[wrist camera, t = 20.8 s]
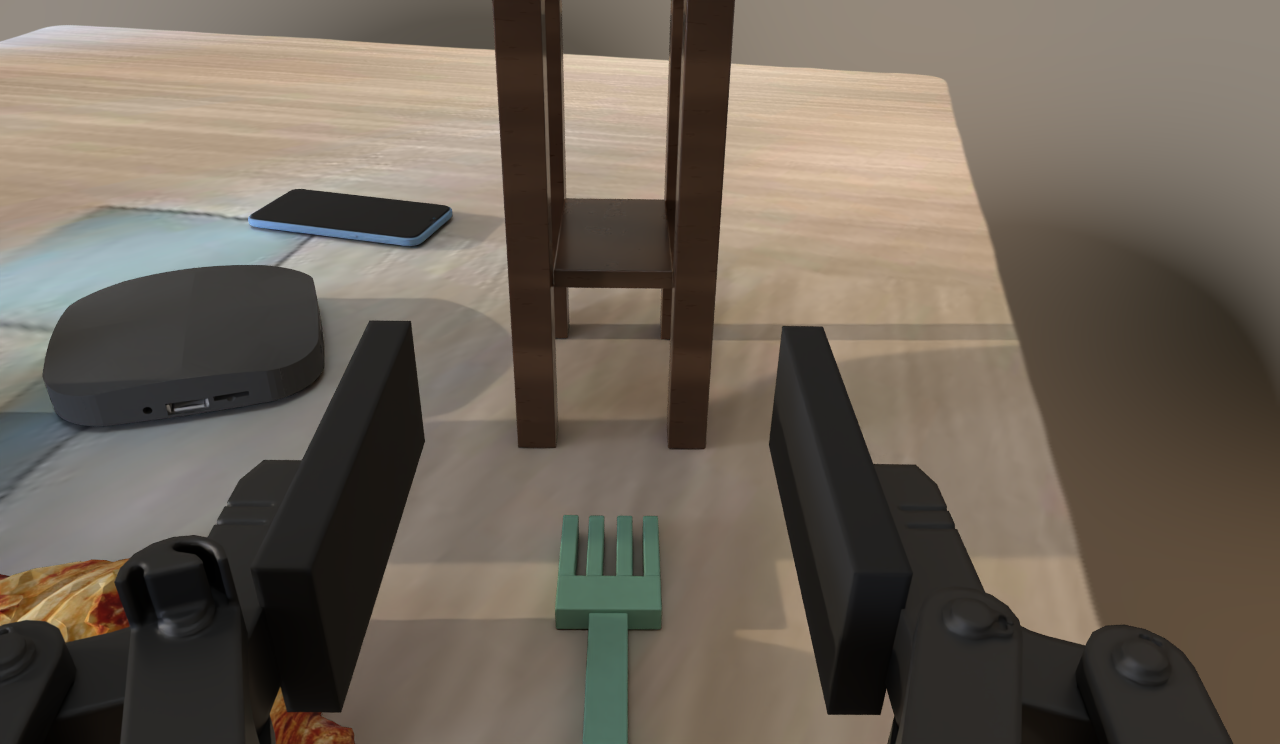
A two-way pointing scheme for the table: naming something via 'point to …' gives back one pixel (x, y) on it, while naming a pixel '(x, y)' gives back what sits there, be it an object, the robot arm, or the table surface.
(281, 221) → the smartphone
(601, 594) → the fork
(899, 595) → the robot arm
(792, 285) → the table surface
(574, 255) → the plant stand
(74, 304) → the media streaming box
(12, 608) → the croissant
